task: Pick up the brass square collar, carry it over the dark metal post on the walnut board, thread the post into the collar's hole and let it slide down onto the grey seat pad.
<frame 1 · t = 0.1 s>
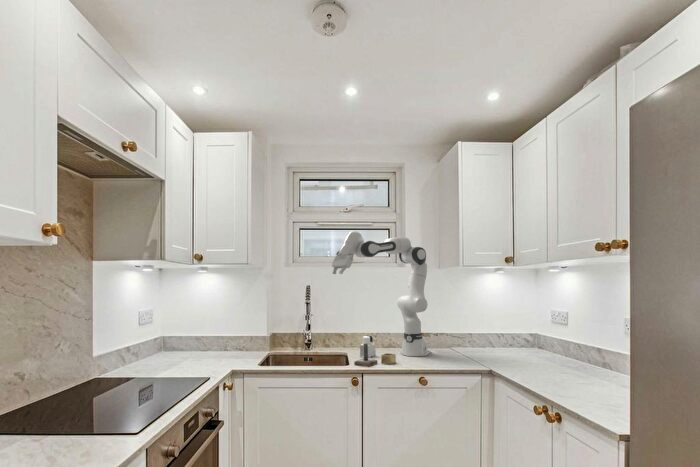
hand: (337, 273, 252), 54 cm above the worktop, tool tilted 30°, fingers open, 8 cm apart
container: (367, 356, 270), on the worktop
collar: (388, 362, 247), on the worktop
post board: (365, 364, 245), on the worktop
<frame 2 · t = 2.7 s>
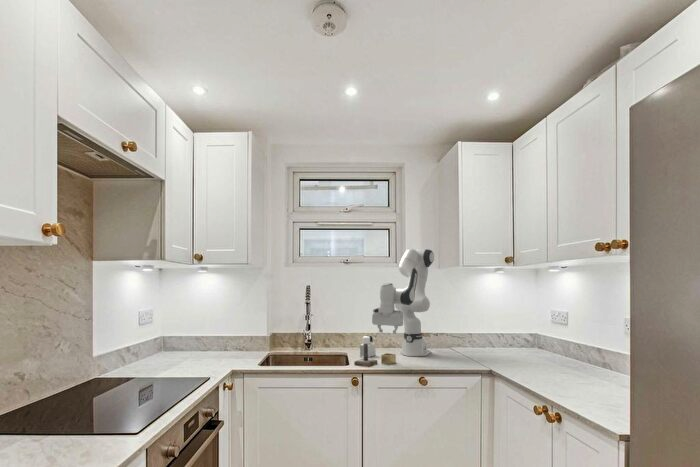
hand: (387, 332, 249), 18 cm above the worktop, tool pointing down, fingers open, 8 cm apart
nothing on the worktop moved.
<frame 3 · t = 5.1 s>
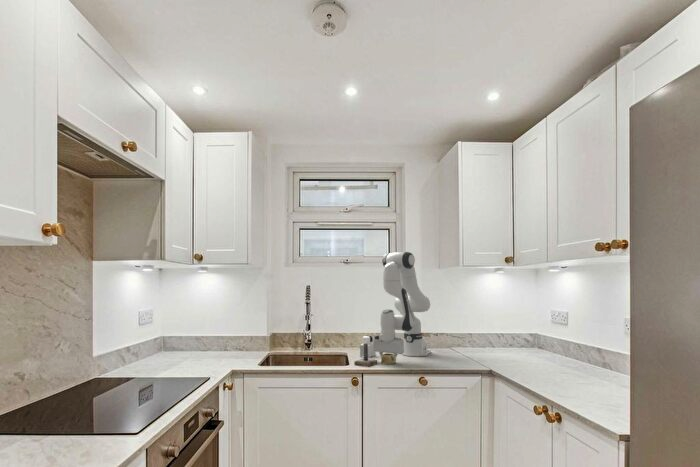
hand: (388, 360, 248), 2 cm above the worktop, tool pointing down, fingers closed on collar, 6 cm apart
collar: (388, 362, 247), on the worktop, touching gripper
everything else where it was.
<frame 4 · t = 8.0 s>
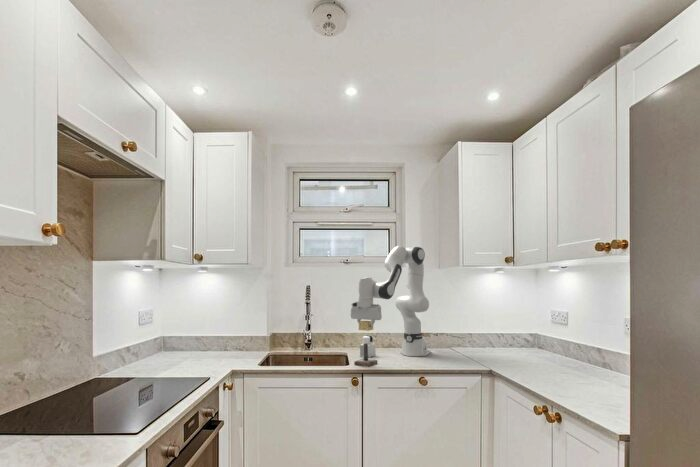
hand: (366, 327, 247), 22 cm above the worktop, tool pointing down, fingers closed on collar, 6 cm apart
collar: (366, 329, 247), point 20 cm above the worktop, touching gripper
everything else where it was.
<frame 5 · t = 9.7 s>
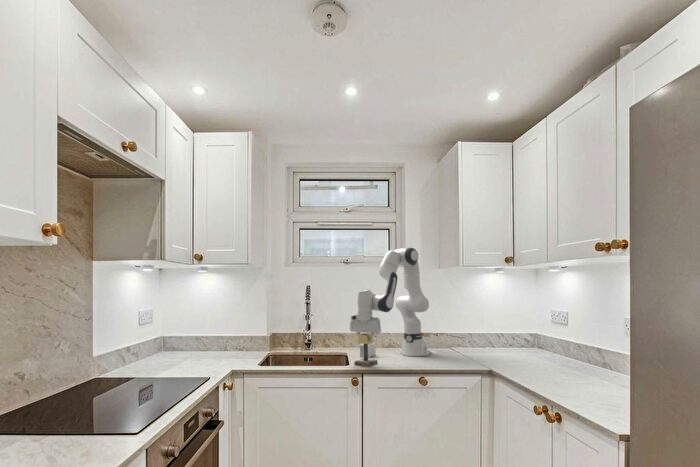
hand: (365, 340, 246), 14 cm above the worktop, tool pointing down, fingers closed on collar, 6 cm apart
collar: (365, 342, 246), point 13 cm above the worktop, touching gripper
everything else where it was.
when the fingers open (13 cm above the worktop, at t = 11.1 s): collar drops 9 cm, resting on post board.
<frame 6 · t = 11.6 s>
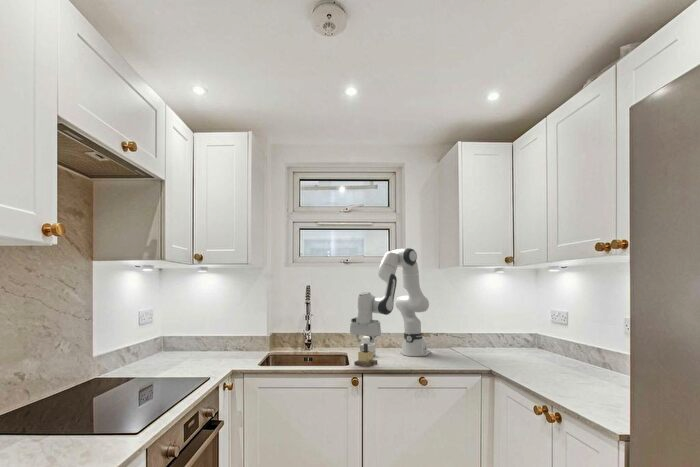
hand: (365, 342, 246), 13 cm above the worktop, tool pointing down, fingers open, 8 cm apart
collar: (365, 360, 245), point 2 cm above the worktop, touching post board
everything else where it was.
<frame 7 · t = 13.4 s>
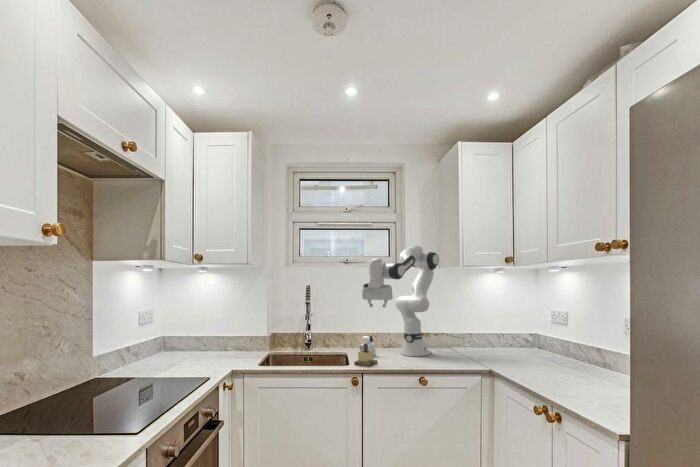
hand: (377, 307, 253), 33 cm above the worktop, tool pointing down, fingers open, 8 cm apart
nothing on the worktop moved.
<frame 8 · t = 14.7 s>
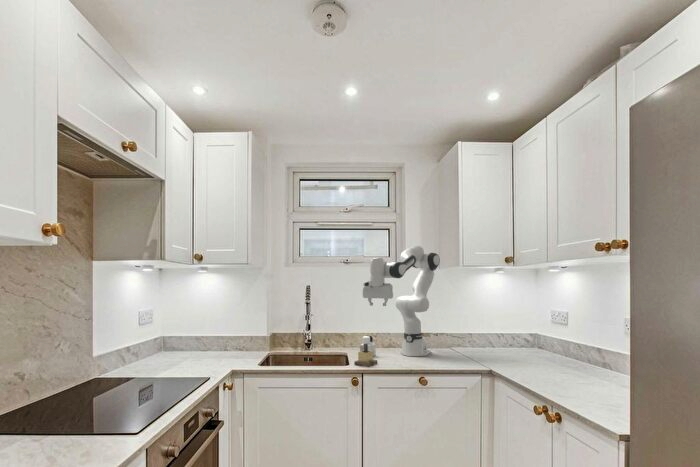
hand: (377, 305, 253), 34 cm above the worktop, tool pointing down, fingers open, 8 cm apart
nothing on the worktop moved.
at the end: collar 0.1 cm from the post board (horizontally); collar point 2.4 cm above the worktop; the gripper is holding nothing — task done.
